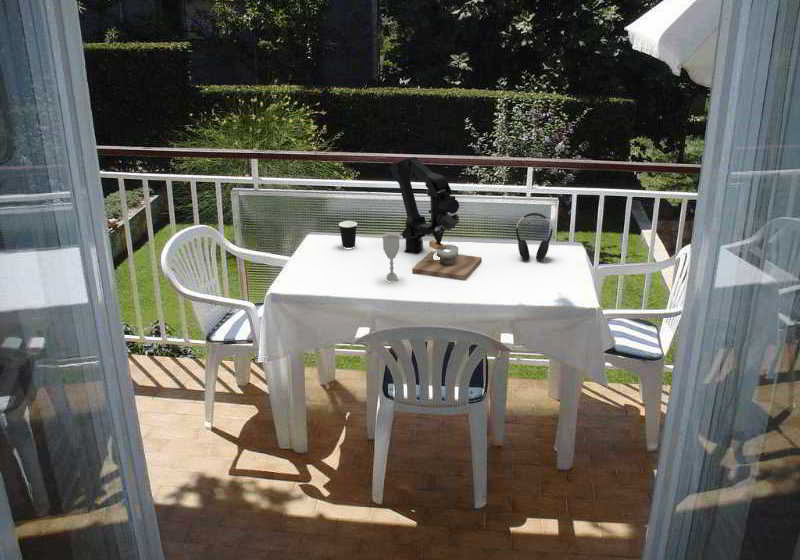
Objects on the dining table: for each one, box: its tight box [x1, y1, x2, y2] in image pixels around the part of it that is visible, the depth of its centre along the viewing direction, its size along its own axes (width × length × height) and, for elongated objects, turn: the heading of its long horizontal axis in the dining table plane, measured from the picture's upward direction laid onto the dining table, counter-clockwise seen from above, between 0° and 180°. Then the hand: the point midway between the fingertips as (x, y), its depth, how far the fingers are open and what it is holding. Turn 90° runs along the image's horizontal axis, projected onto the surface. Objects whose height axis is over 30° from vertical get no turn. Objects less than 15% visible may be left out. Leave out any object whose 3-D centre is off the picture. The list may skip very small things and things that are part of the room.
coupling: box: [428, 239, 459, 259], centre depth 312 cm, size 15×8×3 cm, turn 35°
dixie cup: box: [338, 220, 358, 248], centre depth 334 cm, size 8×8×11 cm
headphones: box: [515, 212, 554, 261], centre depth 316 cm, size 9×15×20 cm, turn 80°
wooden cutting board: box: [411, 250, 483, 281], centre depth 311 cm, size 22×22×5 cm
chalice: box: [381, 232, 401, 282], centre depth 297 cm, size 7×7×18 cm
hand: (438, 244), depth 317 cm, fingers closed
